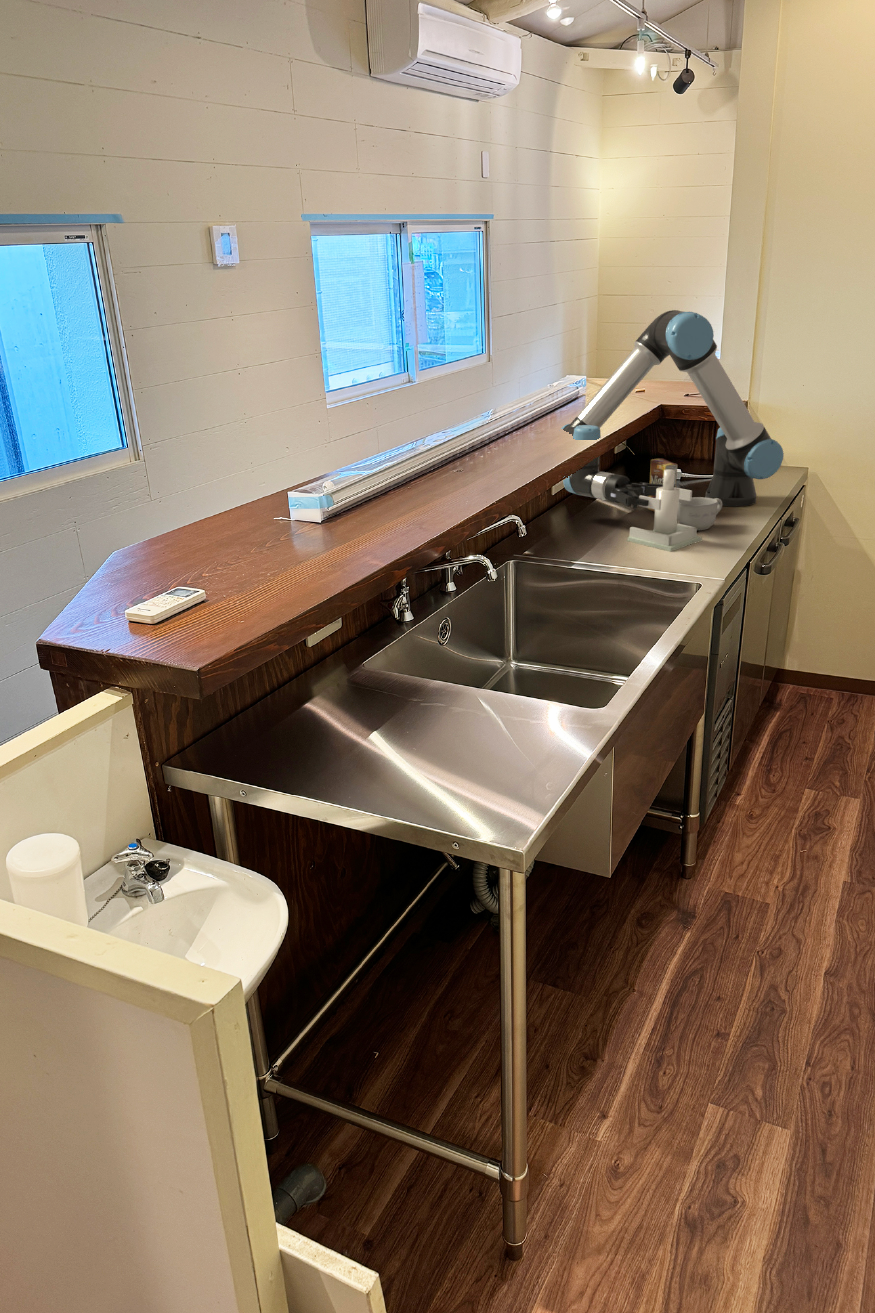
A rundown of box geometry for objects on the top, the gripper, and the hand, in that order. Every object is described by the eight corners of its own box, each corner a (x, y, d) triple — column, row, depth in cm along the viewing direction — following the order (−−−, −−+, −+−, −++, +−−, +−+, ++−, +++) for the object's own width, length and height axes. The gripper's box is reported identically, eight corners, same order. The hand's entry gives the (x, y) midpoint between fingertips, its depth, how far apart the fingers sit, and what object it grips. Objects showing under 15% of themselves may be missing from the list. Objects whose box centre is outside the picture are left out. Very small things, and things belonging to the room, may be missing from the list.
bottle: (661, 532, 260) (666, 467, 253) (680, 537, 256) (685, 470, 249) (648, 537, 256) (653, 470, 250) (667, 541, 252) (672, 473, 245)
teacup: (687, 534, 262) (690, 506, 259) (668, 524, 271) (670, 497, 268) (732, 530, 265) (735, 501, 262) (712, 520, 275) (714, 493, 272)
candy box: (646, 509, 288) (650, 458, 282) (659, 508, 289) (663, 457, 283) (661, 516, 280) (665, 464, 274) (674, 515, 281) (678, 463, 275)
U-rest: (658, 530, 266) (659, 518, 264) (701, 540, 256) (702, 528, 255) (627, 540, 257) (628, 528, 256) (670, 551, 248) (671, 538, 246)
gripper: (638, 493, 274) (702, 505, 259) (582, 508, 259) (645, 523, 244) (640, 467, 271) (704, 478, 256) (583, 481, 256) (647, 494, 241)
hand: (675, 500), depth 250 cm, fingers open, 13 cm apart
